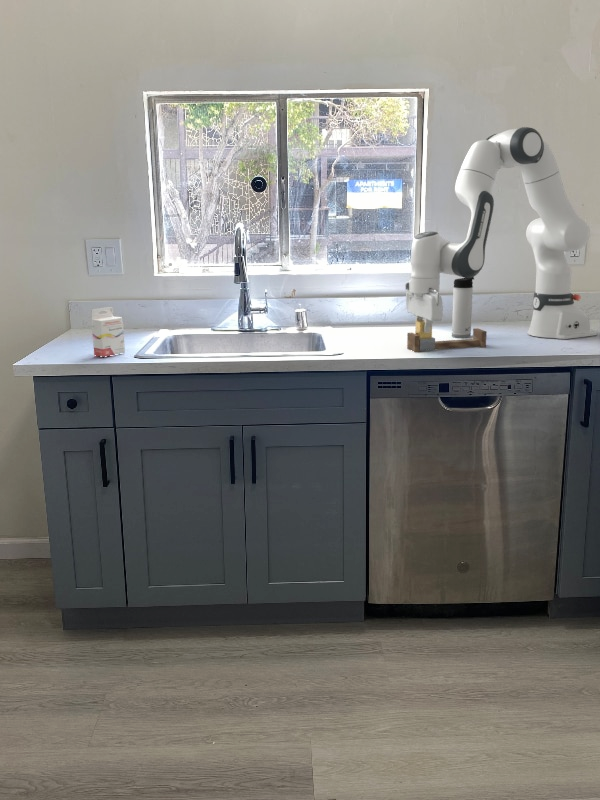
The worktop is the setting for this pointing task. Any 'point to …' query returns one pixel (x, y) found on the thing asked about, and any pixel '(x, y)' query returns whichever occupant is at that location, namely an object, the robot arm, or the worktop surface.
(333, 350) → the worktop surface
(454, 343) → the rail
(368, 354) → the worktop surface
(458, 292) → the travel mug
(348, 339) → the worktop surface
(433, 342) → the slider
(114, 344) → the ink cartridge box
